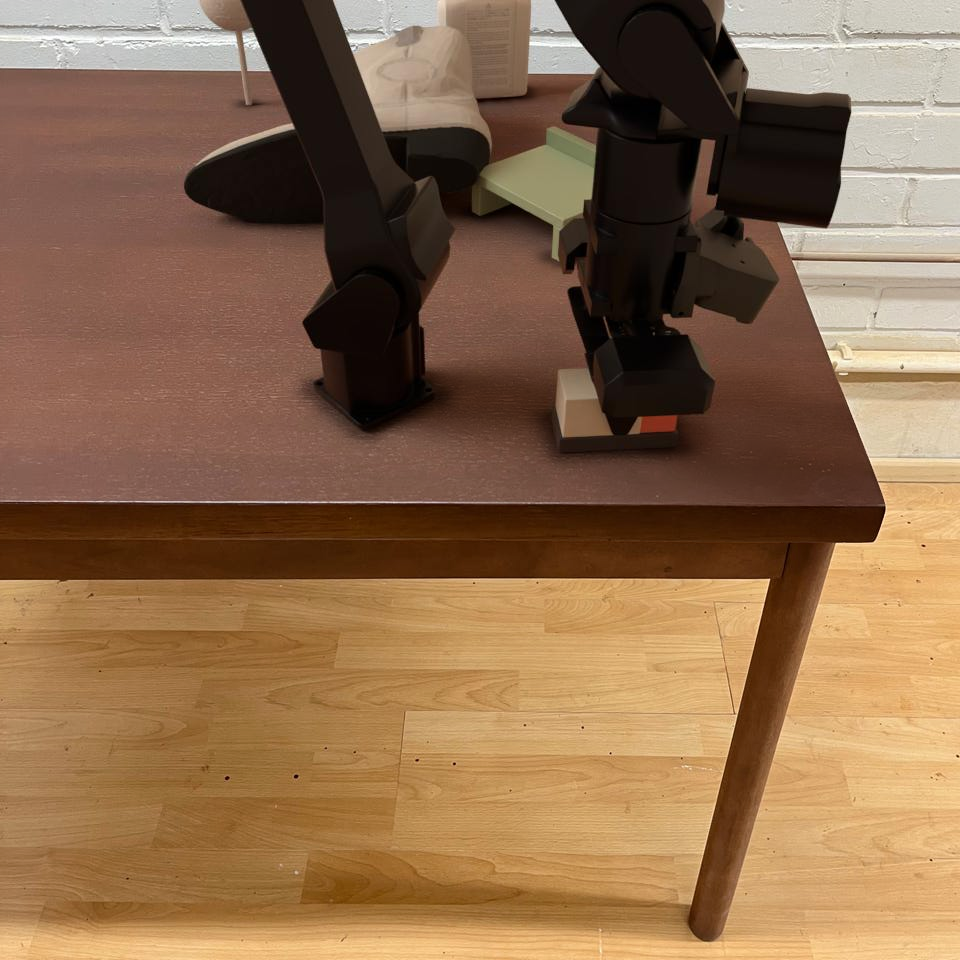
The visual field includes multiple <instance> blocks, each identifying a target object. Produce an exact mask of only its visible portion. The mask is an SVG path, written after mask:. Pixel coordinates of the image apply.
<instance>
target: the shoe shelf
mask: <svg viewBox="0 0 960 960" xmlns="http://www.w3.org/2000/svg"><path fill="white" fill-rule="evenodd" d="M545 136H546V137H545V144H543V145H540V146H538V147H535V148H532V149H529V150H526V151H524V152H521V153H518V154H515V155H512V156H510V157H506V158H504V159H501V160H498V161H496V162H495V161H494V162H493V163H489V164H488V165H487V166H485V167H484V168H483V170H482V171H481V173H480V174H479V177H478V179H477V181H476V182H475V183H474V185H473V186H471V212H472V213H474V214H475V215H477V216H479V217H482V216H484V215H487V214H489V213H492V212H494V211H497V210H500V209H502V208H505V207H507V206H509V205H510V206H511V205H512V204H513V205H515V206H517V207H519V208H521V209H522V210H524V211H526V212H527V213H530V214H532V215H534V216H536V217H537V218H539V219H541V220H542V221H544V222H546V223H548V224H550V225H552V227H553V228H552V243H551V244H552V245H551V258H552V259H554V260H555V261H557V262H558V263H560V261H559V258H558V245H559V231H560V230H561V229H562V228H563V227H565V226H566V225H567V224H568V223H569V222H570V221H571V220H572V219H574V218H584V217H583V206H584V200H590V199H591V198H592V188H593V177H594V165H595V154H596V144H594V143H592V142H589V141H588V140H585V139H583V138H581V137H579V136H577V135H575V134H572V133H570V132H568V131H566V130H563V129H562V128H559V127H557V126H555V125H554V126H551V127H548V128H546V135H545Z"/></svg>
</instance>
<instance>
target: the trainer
mask: <svg viewBox="0 0 960 960" xmlns="http://www.w3.org/2000/svg"><path fill="white" fill-rule="evenodd" d="M550 419H551V424H552V429H553V435H554V437H555V443H556V447H557V451H558V453H559V454H564V453H565V454H566V453H584V452H602V451H603V452H604V451H624V450H641V449H642V450H643V449H646V450H647V449H662V448H676V447H677V444H678V439H679V438H678V437H679V431H678V428H677V421H678V415H670V416H648V417H638V418H637V420H636V422H635V423H634V425H633V427H632V429H631V430H630V432H629V433H628V434H626V435H613V434H612V432H611V430H610V427H609V424H608V421H607V419H606V416H605V414H604V413H602V411H601V407H600V404H599V400H598V397H597V393H596V390H595V387H594V384H593V382H592V380H591V377H590V373H589V370H588V367H581V368H579V367H578V368H559V369H558V370H557V382H556V395H555V405H554V406H551V418H550Z"/></svg>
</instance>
